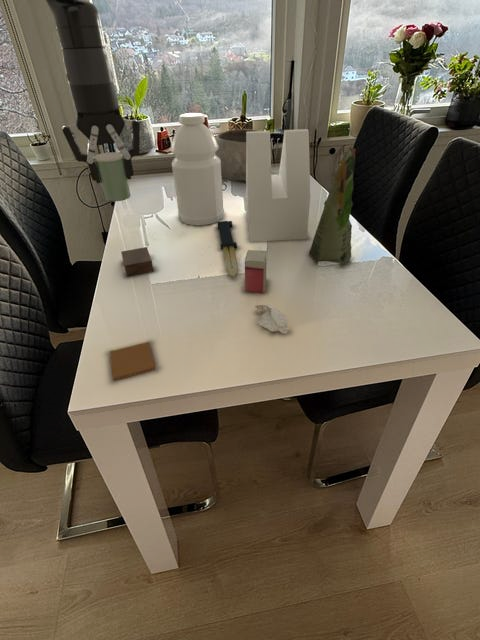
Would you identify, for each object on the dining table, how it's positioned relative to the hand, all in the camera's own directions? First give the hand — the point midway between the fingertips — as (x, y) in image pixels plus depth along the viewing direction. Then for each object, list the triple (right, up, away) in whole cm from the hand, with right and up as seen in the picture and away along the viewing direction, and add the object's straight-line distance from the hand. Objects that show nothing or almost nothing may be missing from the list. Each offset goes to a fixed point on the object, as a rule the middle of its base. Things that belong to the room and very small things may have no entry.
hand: (113, 179), depth 75 cm
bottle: (+13, +4, +41) cm, 43 cm away
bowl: (+26, +28, +71) cm, 80 cm away
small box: (+29, -21, +9) cm, 37 cm away
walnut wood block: (0, -15, +18) cm, 23 cm away
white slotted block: (+35, -1, +34) cm, 49 cm away
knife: (+22, -10, +23) cm, 34 cm away
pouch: (+48, -13, +18) cm, 53 cm away
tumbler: (0, -3, +2) cm, 3 cm away
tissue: (+31, -29, -1) cm, 43 cm away
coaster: (+6, -35, -9) cm, 37 cm away
